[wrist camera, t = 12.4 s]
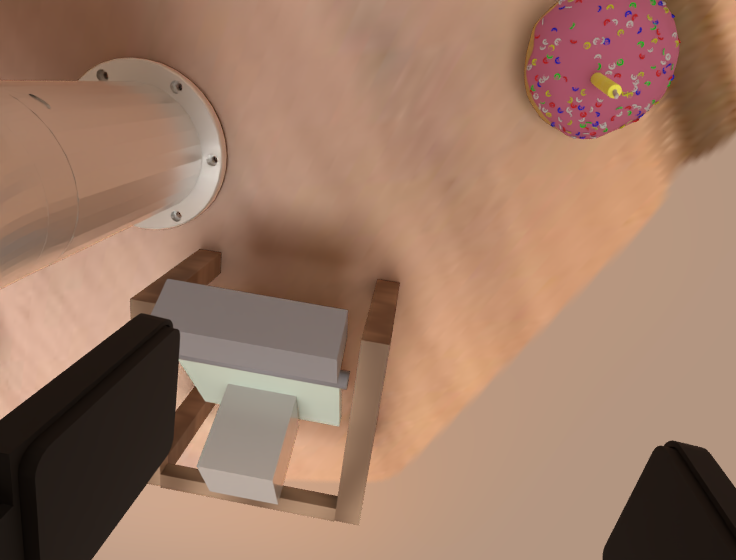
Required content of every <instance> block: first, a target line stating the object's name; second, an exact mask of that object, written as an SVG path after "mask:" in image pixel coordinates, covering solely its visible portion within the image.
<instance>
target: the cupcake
mask: <svg viewBox="0 0 736 560" xmlns="http://www.w3.org/2000/svg"><path fill="white" fill-rule="evenodd" d="M674 17H675V16H674V15H673V14H671V12H670V11H669V9H668V8H667V6H666V3H665V2H664V1H661V0H559V1H558V2H557V3H556V4H555V5H554V6H553V7H552V8H550V9H549V10H548V11H547V12H546V13H545V14H544V15H543V16H542V17H541V18H540V19H539V20H538V21H537V23H536V24H535V26H534V27H533V30H532V33H531V38H530V41H529V45H528V49H527V53H526V60H525V68H524V80H525V87H526V92H527V95H528V98H529V100H530V102H531V104H532V106H533V107H534V109H535V110H536V112H537V113H538V115H539V116H540V117H541V118H542V119H543V120H544V121H545V122H547V123H548V124H549V125H551V126H552V127H554V128H556V129H558V130H560V131H561V132H563V133H564V134H566V135H567V136H570V137H572V138H574V139H576V138H579V139H593V138H598V137H600V136H602V135H605V134H607V133H609V132H612V131H614V130H617V129H619V128H623V127H624V126H626V125H629V124H631V123H633V122H637V121H638V120H639V118H640V117H642V116H643V115H644V114H645V113H646V112H647V111H649V110H650V108H651V107H652V106H653V105H655V104H657V103H659V102H657V101H658V100H659V99H661V97H662V96H663V95H664V93H665V91H666V89H667V87H669V86H670V84H671V80H673V79H674V75H673V73H674V70H675V66H676V63H677V59H678V55H679V43H680V40H679V38H678V35H677V30H676V26H675V22H674V19H673V18H674Z"/></svg>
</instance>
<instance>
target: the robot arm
mask: <svg viewBox="0 0 736 560" xmlns="http://www.w3.org/2000/svg"><path fill="white" fill-rule="evenodd" d="M107 74H108V78H107ZM180 83H181V85H182V91H181V90H180V89H179V84H180ZM214 156H216V157H217V160H218V162H215V161H214ZM226 159H227V154H226V144H225V138H224V134H223V131H222V127H221V124H220V121H219V119H218V117H217V115H216V113H215V111H214V109H213V107H212V106H211V104H210V103H209V101H208V100H207V98H206V97H205V95H204V94H203V93H202V92H201V91H200V90H199V89H198V88H197V87H196V86H195V85H194V84H193V83H192V81H191V80H189V79H188V78H186V77H185V76H184V75H182V74H181V73H179V72H178V71H177V70H175V69H173V68H171V67H168V66H166V65H164V64H162V63H159V62H155V61H152V60H148V59H140V58H117V59H112V60H109V61H106V62H103V63H100V64H98V65H97V66H95V67H93V68H92V69H90V70H88V71H87V72H86V73H85V74H84V75H83V76H82V77H81V78H80V79H79V80H78V81H37V80H0V289H2V288H4V287H6V286H8V285H10V284H12V283H14V282H16V281H18V280H20V279H22V278H24V277H26V276H28V275H30V274H33V273H35V272H37V271H39V270H41V269H43V268H45V267H48V266H50V265H52V264H54V263H56V262H59V261H61V260H63V259H65V258H67V257H69V256H71V255H73V254H75V253H77V252H79V251H81V250H84V249H86V248H88V247H90V246H92V245H94V244H96V243H98V242H100V241H102V240H104V239H106V238H108V237H110V236H113V235H115V234H117V233H119V232H121V231H123V230H125V229H127V228H129V227H131V226H134V227H138V228H142V229H150V230H163V229H171V228H174V227H177V226H180V225H183V224H186V223H187V222H189V221H191V220H193V219H195V218H196V217H197V216H199V215H200V214H201V213H202V212H204V211H205V210H206V209H207V208H208V207H209V206H210V204H211V203H212V202H213V201H214V200H215V198H216V196H217V194H218V192H219V190H220V188H221V186H222V183H223V179H224V175H225V172H226ZM179 212H180V214H181V216H180V215H179ZM179 349H180V331H179V330H178V329H175V328H173V323H172V321H171V320H170V319H165V318H161V317H157V316H153V315H149V314H145V313H140V314H139V315H137V316H136V317H134V318H133V319H132V320H130V321H129V322H128V323H126V324H125V325H124V326H122V327H121V328H120V329H119V330H117V331H116V332H115V333H113V334H112V335H111V336H109V337H108V338H107V339H105V340H104V341H103V342H102V343H100V344H99V345H98V346H96V347H95V348H94V349H92V350H91V351H90V352H88V353H87V354H86V355H85V356H83V357H82V358H81V359H79V360H78V361H77V362H75V363H74V364H73V365H72V366H70V367H69V368H68V369H66V370H65V371H64V372H62V373H61V374H60V375H58V376H57V377H56V378H55V379H53V380H52V381H51V382H49V383H48V384H47V385H45V386H44V387H43V388H41V389H40V390H39V391H38V392H36V393H35V394H34V395H32V396H31V397H30V398H28V399H27V400H26V401H24V402H23V403H22V404H21V405H19V406H18V407H17V408H15V409H14V410H13V411H11V412H10V413H9V414H7V415H6V416H5V417H4V418H2V419H1V420H0V560H91V559H92V558H93V557H94V556H95V554H96V553H97V552H98V550H99V549H100V547H101V546H102V545H103V543H104V542H105V541H106V539H107V538H108V536H109V535H110V534H111V532H112V531H113V529H114V528H115V527H116V526H117V524H118V523H119V521H120V520H121V519H122V517H123V516H124V514H125V513H126V512H127V510H128V509H129V508H130V506H131V505H132V504H133V502H134V501H135V499H136V498H137V497H138V495H139V494H140V492H141V491H142V490H143V489H144V487H145V486H146V484H147V483H148V482H149V480H150V479H151V478H152V476H153V475H154V474H155V472H156V471H157V469H158V468H159V467H160V465H161V464H162V463H163V461H164V460H165V458H166V457H167V455H168V454H169V451H170V449H171V447H172V443H173V438H174V425H175V409H176V394H177V379H178V364H179ZM603 560H736V488H735V487H734V485H733V484H732V483H731V481H730V480H729V478H728V477H727V476H726V474H725V473H724V472H723V471H722V469H721V467H720V466H719V465H718V463H717V462H716V461H715V459H714V458H713V457H712V455H711V454H710V453H709V452H708V451H707V450H706V449H704V448H702V447H698V446H693V445H689V444H685V443H681V442H676V441H669V442H667V443H666V444H665V445H664V446H658V447H656V448H655V449H654V451H653V452H652V454H651V456H650V458H649V460H648V462H647V464H646V466H645V468H644V470H643V472H642V474H641V476H640V478H639V480H638V482H637V484H636V486H635V488H634V490H633V492H632V494H631V496H630V498H629V500H628V502H627V504H626V506H625V507H624V510H623V511H622V513H621V515H620V517H619V519H618V521H617V523H616V525H615V528H614V529H613V531H612V533H611V535H610V537H609V539H608V541H607V543H606V545H605V547H604V551H603Z"/></svg>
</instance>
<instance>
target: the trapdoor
mask: <svg viewBox="0 0 736 560" xmlns="http://www.w3.org/2000/svg"><path fill="white" fill-rule="evenodd" d="M151 315H153V316H157V317H161V318H165V319H170V320H171V321H172V323H173V328H175V329H178V330H179V331H180V349H179V362H180V363H181V365H182V366H183V368H184V369H185V371H186V373H187V374H188V376H189V377H190V379H191V380H192V382H193V383H194V385H195V386H196V388H197V389H198V391H199V393H200V394H201V396H202V397H203V399H204V400H205V401H206V402H211V403H216V404H221V401H222V398H223V396H224V393H225V390H226V388H227V385H228V384H233V385H238V386H243V387H249V388H254V389H260V390H265V391H271V392H276V393H281V394H287V395H292V396H296V398H297V409H298V419H302V420H307V421H313V422H318V423H323V424H329V425H334V426H340V421H341V404H342V389H345V390H346V389H347V386H348V381H349V375H350V371H346V370H340V369H341V364H342V359H343V355H344V350H345V346H346V341H347V328H348V310H345V309H339V308H333V307H327V306H322V305H316V304H310V303H304V302H299V301H293V300H287V299H281V298H276V297H270V296H264V295H258V294H253V293H247V292H241V291H235V290H230V289H224V288H218V287H212V286H207V285H201V284H195V283H189V282H184V281H178V280H172V279H167V280H166V282H165V285H164V287H163V289H162V291H161V293H160V295H159V298H158V300H157V302H156V304H155V306H154V308H153V311H152V313H151Z"/></svg>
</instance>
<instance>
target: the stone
mask: <svg viewBox="0 0 736 560" xmlns="http://www.w3.org/2000/svg"><path fill="white" fill-rule="evenodd" d="M298 428H299V420H298V409H297V398H296V396H292V395H287V394H281V393H276V392H271V391H265V390H260V389H254V388H249V387H243V386H238V385H233V384H228V385H227V388H226V390H225V393H224V396H223V398H222V401H221V404H220V406H219V409H218V411H217V414H216V417H215V419H214V422H213V424H212V427H211V430H210V432H209V435H208V437H207V440H206V443H205V445H204V448H203V451H202V453H201V456H200V458H199V461H198V464H197V468H198V470H199V472H200V474H201V476H202V477H203V479H204V481H205V483H206V485H207V487H208V489H209V491H211V492H216V493H221V494H226V495H231V496H237V497H242V498H247V499H252V500H257V501H262V502H267V503H272V504H277V505H278V503H279V499H280V495H281V491H282V488H283V483H284V480H285V476H286V473H287V469H288V465H289V461H290V458H291V454H292V450H293V446H294V443H295V439H296V435H297V431H298Z"/></svg>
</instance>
